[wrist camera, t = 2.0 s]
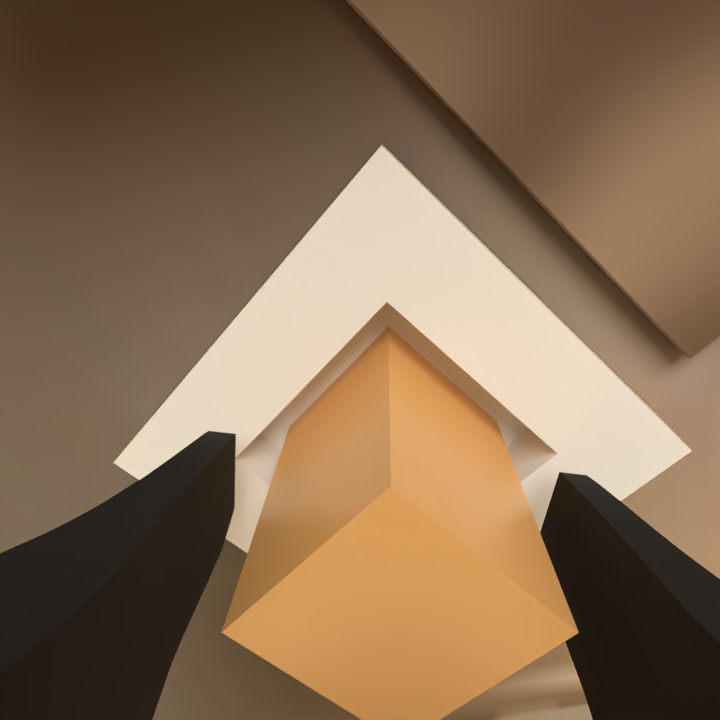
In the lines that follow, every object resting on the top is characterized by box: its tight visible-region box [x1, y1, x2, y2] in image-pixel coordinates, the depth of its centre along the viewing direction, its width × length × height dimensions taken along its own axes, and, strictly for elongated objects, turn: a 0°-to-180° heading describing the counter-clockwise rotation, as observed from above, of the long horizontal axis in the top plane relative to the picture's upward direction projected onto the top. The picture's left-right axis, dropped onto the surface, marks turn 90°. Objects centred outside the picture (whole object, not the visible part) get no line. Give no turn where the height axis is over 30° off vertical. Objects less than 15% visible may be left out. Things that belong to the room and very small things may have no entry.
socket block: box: [114, 144, 691, 553], centre depth 14 cm, size 10×10×2 cm
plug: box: [222, 326, 579, 720], centre depth 11 cm, size 4×4×6 cm
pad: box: [345, 0, 720, 358], centre depth 10 cm, size 12×9×1 cm
